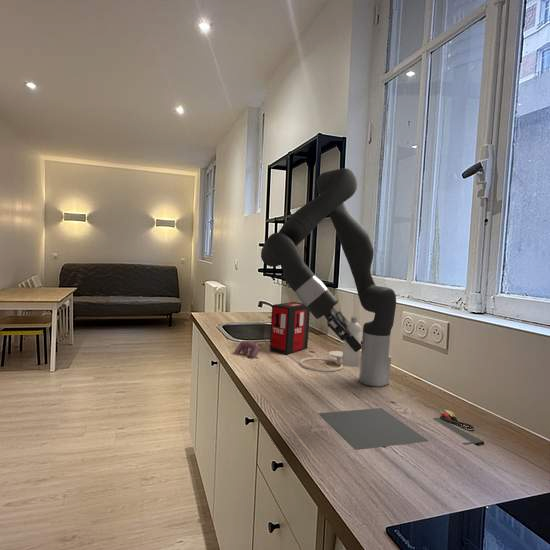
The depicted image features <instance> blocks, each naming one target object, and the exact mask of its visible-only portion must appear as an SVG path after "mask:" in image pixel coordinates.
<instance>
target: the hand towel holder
mask: <svg viewBox="0 0 550 550" xmlns="http://www.w3.org/2000/svg"><path fill="white" fill-rule="evenodd" d="M328 354H329V355H330V356H331V357H334V358H336V359H333V358H328V357H321V356H320V357H318V356H311V357H304V358H301V359H300V360H299V362H298V364H299V365H300V366H301V368H305V369H306V370H310V371H316V372H322V373H323V372H326V373H330V372H331V373H332V372H339V371H340V370H342V369H343V368H344V365H343V364H342V360H341V359H342V356H343V351H341V350H331V351H329V352H328ZM312 360H320V361H326V362H330V363H331V362H332V363H335V364H336V365H339V367H333V368H320V367H313V366H308V365H306V364H303V362H305V361H312Z"/></svg>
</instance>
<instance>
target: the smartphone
mask: <svg viewBox="0 0 550 550" xmlns="http://www.w3.org/2000/svg"><path fill="white" fill-rule="evenodd" d="M432 420H433V421H435V422H437V423H439V424H440V425H442V426H444V427H445V428H447V429H449V430H450V431H451V432H454V433H455V434H457V435H458V436H460V437H462V438H463V439H465V440H466V441H468V442H461V444H462V445H463V446H469V445H474V446H476V445H477V446H479V445H478V444H482V445H484V444H485V442H484V440H482V439H480V438H479V437H476V436H474V435H473V434H471V433H469V432H466V431H465V430H463V429H462V428H460V427H459V428H458V426H457V427H456V426H455V425H454V424H452V423H449V422H446V421H443V420H441V419H440V417H434V418H433V417H432Z"/></svg>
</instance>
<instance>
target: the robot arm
mask: <svg viewBox="0 0 550 550" xmlns="http://www.w3.org/2000/svg"><path fill="white" fill-rule="evenodd" d="M317 177H318V178H317V180H316V189H317V192H318V196H317V197H315V198H314V199H312V200H310V201H309V202H307V203H305V204H304V205H302V206H301V207H300V208H298V209H297V210H296V211H294V213H293V214H292V215H291V216H290V217H289V218H288V219H287V220H286V221H285V222H284V224H282V226H281V228H280V230H279V231H278V232H274V233H272V234H270V235H269V236H268V237H267V238H266V241H265V243H264V244H263V247H262V248H261V251H260V258H261V260H262V262H263V263H264V264H265V265H266V266H268V267H270V268H271V267H272V268H274V267H279V266H281V268H282V270H283V279H284V280H285V283H286V284H287V285H288V286H289V288H291V289H292V291H293V292H294V293H295V295H296V296H297V298H298V299H299V300H300V301H301V303H303V304H304V305H305V306H306V307H307V309H308V310H309V311H310V314H311V315H312V316H313V317H314V318H315V319H317V320H318V319H320V318H321V317H324V319H326V320H327V321H326V324H327V327H328V328H330V329H331V331H332V332H334V334H336V336H337V337H338V338H339V339H340V340H341V341H343V342H344V341H346V342H347V343H348V344H349V345H350V347H351V348H352V349H353V350H354V351H355V352H357V351H359V350H360V362H359V377H358V378H359V379H358V381H359V382H360V383H361V384H364V385H367V386H371V387H384V385H385V386H386V385H389V384H390V378H391V377H390V376H391V365H392V364H391V363H392V356H390V344H391V342H390V341H391V332H392V328H393V326H394V321H395V316H396V314H395V313H396V308H397V296H396V293H395V291H394V289H392V288H390V287H387V286H381V285H380V286H379V285H377V284H376V283H375V281H374V279H373V276H372V271H371V268H372V263H373V260H374V255H375V254H374V247H373V243H372V241H371V238H370V235H369V232H368V230H366V228H365V227H364V226H363V224H361V222H359V221H358V220H357V219H356V218H355V216H353V215H352V214H351V213H350V212H349V210H348V208H347V206H346V205H345V202H346V201H347V200H349V199H350V198H352V197H353V196H354V194H355V193H356V191H357V190H358V179H357V176H356V173H354V171H353V170H352V169H350V168H347V167H346V168H337V169H332V170H329V171H325V172H324V171H323V172H322V173H320V175H319V176H317ZM327 216H329V217H330V220H331V223H332V225H333V227H334V230H335V232H336V234H337V236H338V239H339V243H340V244H341V248H342V250H343V254H344V256H345V259H346V261H347V263H348V266H349V269H350V272H351V274H352V278H353V279H354V284H355V288H356V293H357V296H358V299H359V303H360V305H361V307H362V308H363V309H364V310H365V311H367V312H370V313H374V316H373V317H374V318H373V320H372V321H368V322H364V323H363V326H362V335H361V344H360V343H359V342H358V341H357V340H356V339H355V337H354V336H353V335H352V333H351V332H350V331H349V330H348V325H347V323H349V321H348V320H347V318H346V316H344V314H343V313H342V311H341V310H336V309H335V308H334V307H335V306H336V305H337V304H338V302H339V300H338V299H337V297H336V296H335V295H334V294H333V293H332V291H331V290H330V289H329V288H328V287H327V286H326V284H324V282H323V281H322V280H321V279H320V278H319V277H318V276H316V275H315V273H314V272H313V271H312V269H311V268H310V267H309V266H308V265H307V264H306V263H305V261H304V259H303V257H302V254H301V253H300V251H299V250H298V247H297V246H298V245H300V243H301V242H302V241H303V240H305V239H306V238H307V236H309V235H310V233H312V231H313V230H314V229H315V228H316V227H317V226H318V225H319V224H320V223H321V222H322V221H323V220H324V219H325V218H326V217H327ZM344 332H345V333H344Z"/></svg>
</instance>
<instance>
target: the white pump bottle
mask: <svg viewBox="0 0 550 550" xmlns="http://www.w3.org/2000/svg"><path fill="white" fill-rule="evenodd" d="M357 321H358V317H356V316H350V322H349V321H348V322H349V323H347V325H348V330H349V331H350V332H351V333H352V335H353V336H354V337H355V339H356V340H357V341H358V342H359V343H360V344H361V341H362V336H363V327H362V326H361V324H360V323H358V322H357ZM344 333H345V332H344ZM344 333H343V334H344ZM342 346H343V347H342V352H343V356H342V358H341V359H342V360H341V363H342V365H343V366H346V367H351V368H352V367H353V368H357V367H360V361H361V349H360V350H359V351H357V352H355V351H354V350H353V349H352V348H351V347H350V345H349V344H348V343H347V342H346V341H343V344H342Z"/></svg>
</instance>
